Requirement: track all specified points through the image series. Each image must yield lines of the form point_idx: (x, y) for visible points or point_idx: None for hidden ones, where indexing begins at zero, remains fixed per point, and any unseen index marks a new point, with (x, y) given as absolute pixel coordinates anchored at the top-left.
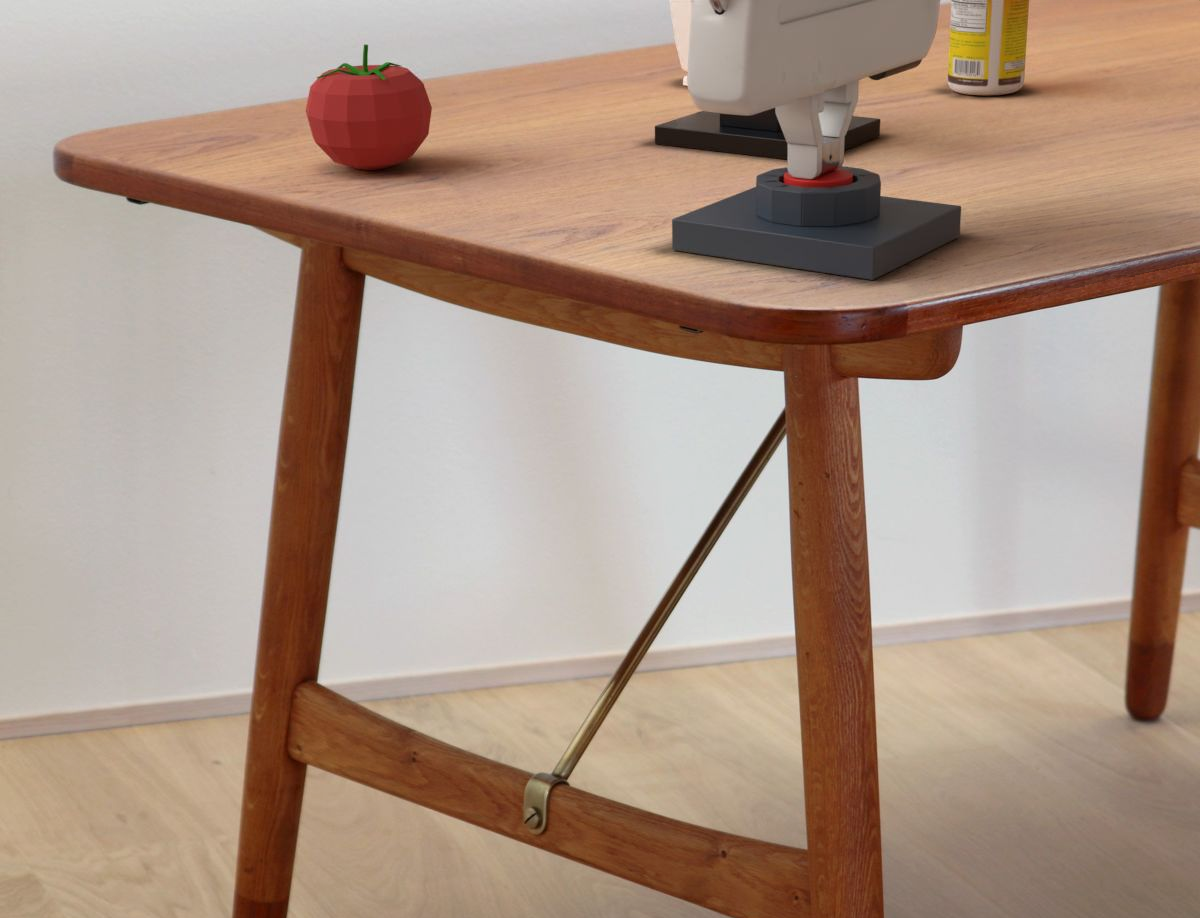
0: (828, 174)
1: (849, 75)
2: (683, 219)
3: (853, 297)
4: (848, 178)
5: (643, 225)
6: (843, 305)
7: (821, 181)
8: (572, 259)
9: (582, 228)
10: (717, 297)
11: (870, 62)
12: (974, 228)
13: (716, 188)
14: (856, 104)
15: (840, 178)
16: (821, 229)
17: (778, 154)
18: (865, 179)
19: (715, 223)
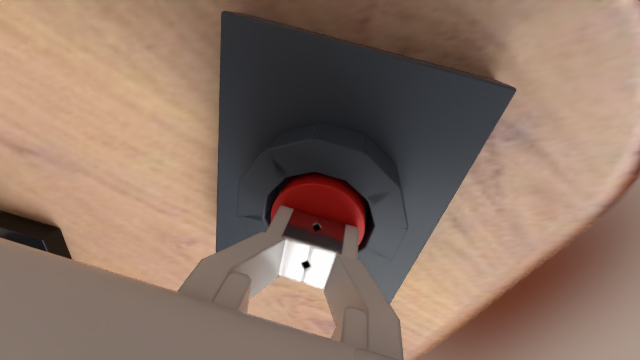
0: (314, 213)
1: (279, 342)
2: (389, 301)
3: (585, 87)
4: (327, 185)
5: (309, 307)
6: (631, 91)
7: (359, 216)
8: (425, 334)
9: (331, 336)
10: (566, 229)
11: (150, 323)
12: (188, 5)
13: (179, 278)
14: (211, 255)
15: (334, 195)
16: (412, 178)
17: (66, 255)
18: (304, 163)
19: (400, 277)
